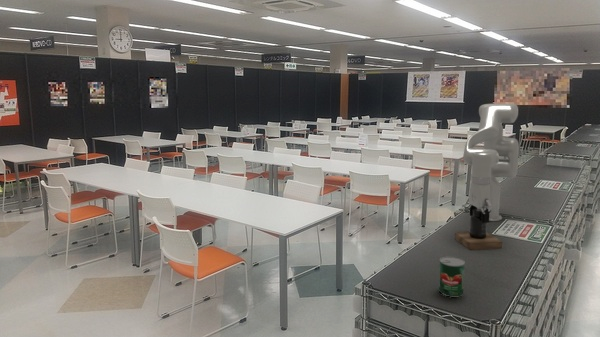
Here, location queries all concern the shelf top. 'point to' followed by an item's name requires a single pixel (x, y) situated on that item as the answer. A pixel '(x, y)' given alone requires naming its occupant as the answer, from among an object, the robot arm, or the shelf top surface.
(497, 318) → the shelf top surface
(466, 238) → the wavy wooden tray
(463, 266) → the canned tomato
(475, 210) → the supplement bottle
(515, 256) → the shelf top surface
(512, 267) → the shelf top surface
